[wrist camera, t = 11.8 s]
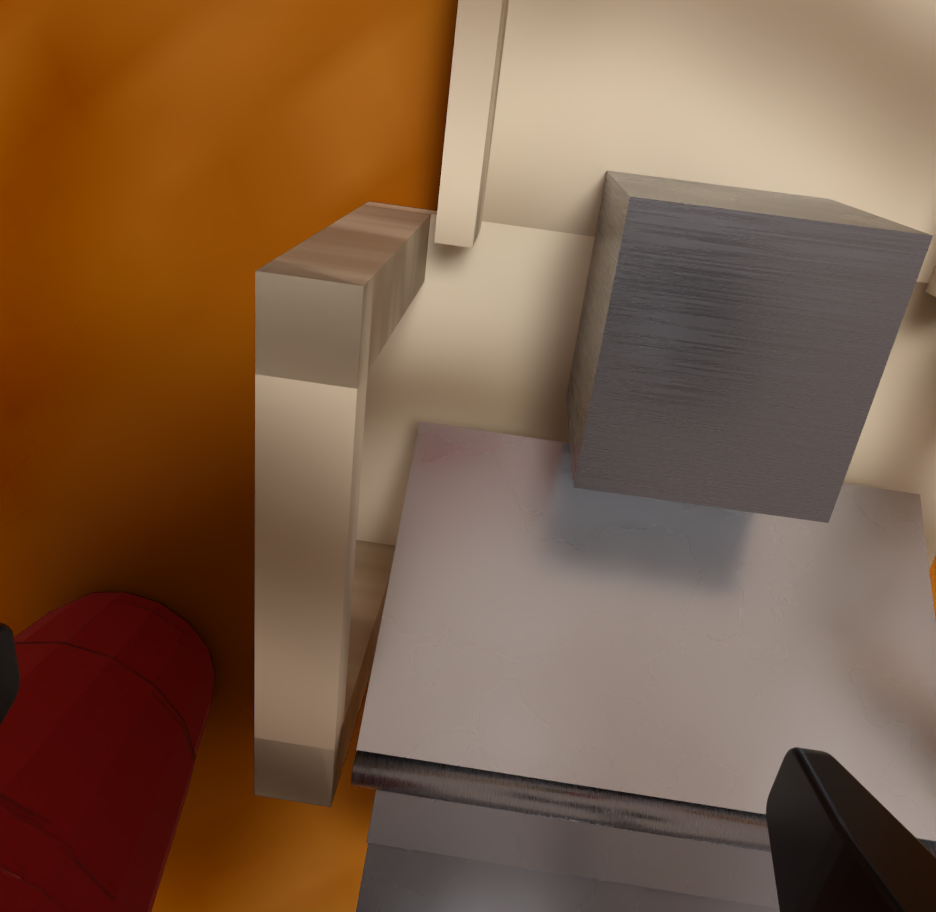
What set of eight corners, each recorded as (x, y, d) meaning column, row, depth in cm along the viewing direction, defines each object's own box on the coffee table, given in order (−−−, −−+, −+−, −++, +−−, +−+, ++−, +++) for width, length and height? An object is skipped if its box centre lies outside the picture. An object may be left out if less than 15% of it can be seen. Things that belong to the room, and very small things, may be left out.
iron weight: (762, 424, 20) (830, 198, 17) (828, 522, 15) (933, 235, 13) (565, 398, 20) (606, 170, 17) (573, 486, 15) (630, 196, 13)
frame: (877, 653, 23) (1038, 920, 15) (345, 572, 23) (254, 795, 16) (1270, -238, 14) (2084, -608, 7) (402, -341, 14) (257, -800, 7)
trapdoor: (838, 1090, 18) (1007, 1201, 13) (333, 1007, 18) (291, 1080, 13) (810, 569, 24) (919, 494, 18) (423, 511, 24) (419, 421, 19)
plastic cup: (-62, 701, 27) (-464, 1104, 16) (14, 463, 23) (-468, 799, 12) (221, 826, 29) (26, 1273, 18) (344, 626, 24) (185, 1057, 13)
